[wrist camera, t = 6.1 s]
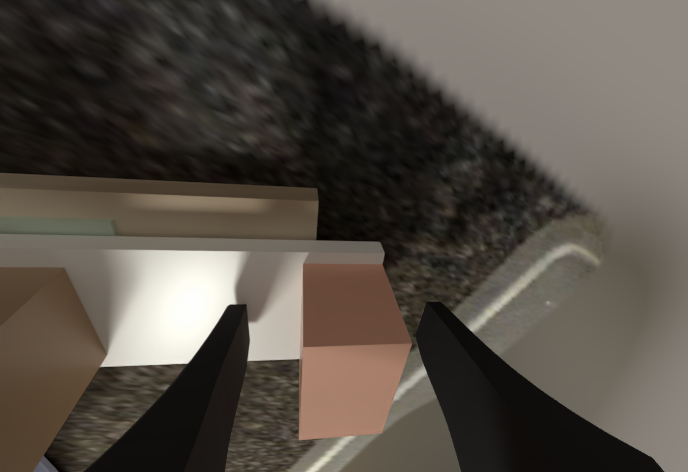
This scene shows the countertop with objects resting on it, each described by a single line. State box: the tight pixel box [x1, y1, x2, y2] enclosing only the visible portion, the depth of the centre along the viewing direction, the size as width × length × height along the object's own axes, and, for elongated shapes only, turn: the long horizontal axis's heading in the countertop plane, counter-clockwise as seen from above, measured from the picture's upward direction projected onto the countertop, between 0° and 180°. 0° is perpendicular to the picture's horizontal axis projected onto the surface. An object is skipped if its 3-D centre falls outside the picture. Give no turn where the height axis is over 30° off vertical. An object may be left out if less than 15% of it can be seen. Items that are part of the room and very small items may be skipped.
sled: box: [0, 234, 412, 472], centre depth 10 cm, size 6×17×5 cm, turn 84°
